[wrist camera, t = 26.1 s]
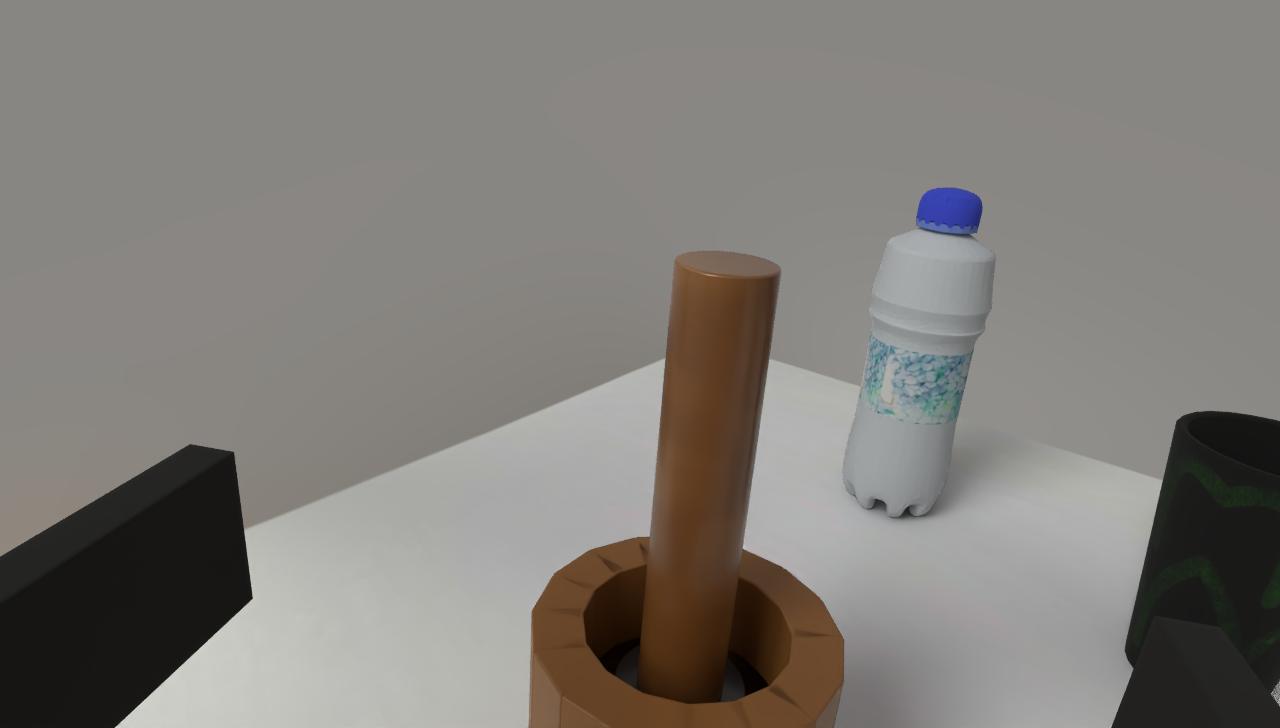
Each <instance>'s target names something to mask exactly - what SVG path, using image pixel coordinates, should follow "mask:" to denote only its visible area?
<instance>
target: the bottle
mask: <svg viewBox="0 0 1280 728" xmlns="http://www.w3.org/2000/svg"><path fill="white" fill-rule="evenodd" d="M981 214H982V202H981V200H980V198H979V197H978V196H977V195H975V194H974V193H971V192H969V191H966V190H962V189H957V188H936V189H932V190H929V191H927V192H926V193H925V194H924V195H923V196H922V198H921V200H920V203H919V207H918V212H917V217H916V218H917V219H916V224H917V226H919V227H920V228H918V229H915V230H912V231H909V232H907V233H904V234H901V235H898V236H896V237H893V238H892V239H890V240H889V241H888V243H887V247H886V250H885V253H884V256H883V259H882V262H881V266H880V268H879V271H878V274H877V277H876V280H875V283H874V285H873V287H872V305H871V307H870V308H869V311H870V315H871V318H872V322H873V323H872V330H871V335H870V340H869V346H868V351H867V357H866V362H865V368H864V373H863V378H862V383H861V389H860V394H859V400H858V405H857V410H856V413H855V417H854V421H853V424H852V428H851V431H850V435H849V439H848V443H847V447H846V452H845V458H844V465H843V479H844V484H845V487H846V489H847V491H848V492H849V493H850V494H852V495H855V496H856V497H857V501H858V503H859V504H860V505H861V506H863V507H865V508H866V509H870V508H872V507H873V505H874V502H875V499H879V500H882V501H884V502H885V503H886V505H887V515H888V516H890V517H898V516H900V515H901V514H902V513H903V511H904V510H905V509H906V508H907V507H908V506H909V512H910V513H911V514H912V515H913V516H920V515H923V514H925V513H926V512H928V511H929V510H930V509H931V507H932V506H933V505H934V503H935V501H936V499H937V498H938V496H939V494H940V493H941V491H942V490H943V488H944V485H945V482H946V479H947V475H948V469H949V464H950V458H951V452H952V445H953V438H954V431H955V425H956V421H957V417H958V413H959V409H960V404H961V401H962V396H963V392H964V388H965V383H966V380H967V375H968V371H969V367H970V362H971V358H972V354H973V350H974V345H975V342H976V340H977V339H978V337H979V336H980V335H981V334H982V333H983V332H984V331H985V321H986V318H987V316H988V314H989V312H990V311H991V308H992V290H993V278H994V269H995V254H994V253H993V252H992V250H990V249H989V248H988V247H986V246H985V245H984V244H982V243H981V242H980V241H978V240H977V239H975V238H974V237H973V236H971V235H970V234H972V233H977V230H978V226H979V223H980V218H981Z"/></svg>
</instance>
